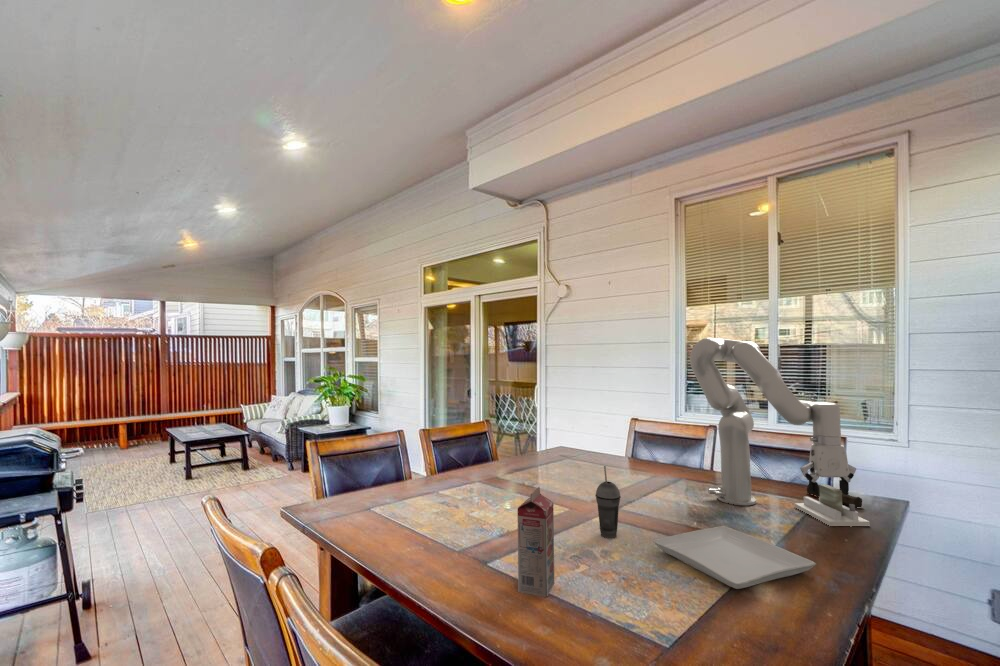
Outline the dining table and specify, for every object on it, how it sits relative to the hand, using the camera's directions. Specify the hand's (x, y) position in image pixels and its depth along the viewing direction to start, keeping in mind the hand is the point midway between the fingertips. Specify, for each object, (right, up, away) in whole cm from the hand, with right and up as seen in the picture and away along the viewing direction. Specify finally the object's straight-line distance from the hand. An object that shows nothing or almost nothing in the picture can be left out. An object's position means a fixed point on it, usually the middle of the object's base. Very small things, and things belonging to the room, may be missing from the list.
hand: (829, 493), depth 155 cm
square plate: (-49, -7, -34) cm, 59 cm away
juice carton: (-99, -6, -46) cm, 109 cm away
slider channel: (0, -7, 0) cm, 7 cm away
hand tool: (+12, -8, +16) cm, 22 cm away
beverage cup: (-75, -7, -15) cm, 77 cm away
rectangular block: (0, -6, -1) cm, 6 cm away
